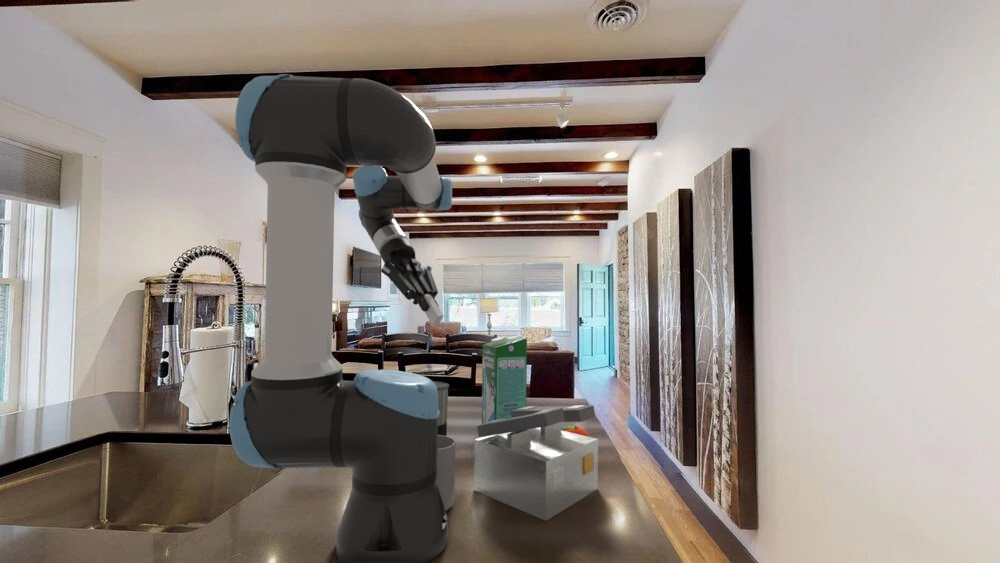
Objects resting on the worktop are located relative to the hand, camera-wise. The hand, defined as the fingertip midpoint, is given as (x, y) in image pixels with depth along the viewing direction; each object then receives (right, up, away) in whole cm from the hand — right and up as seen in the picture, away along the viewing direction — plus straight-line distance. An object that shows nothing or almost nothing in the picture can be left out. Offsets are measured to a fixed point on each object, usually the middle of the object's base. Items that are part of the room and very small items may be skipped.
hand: (437, 320), depth 90 cm
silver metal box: (+20, -30, -13) cm, 38 cm away
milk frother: (-8, -31, +8) cm, 33 cm away
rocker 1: (+17, -18, -16) cm, 29 cm away
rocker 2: (+23, -17, -9) cm, 30 cm away
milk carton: (+14, -32, +24) cm, 42 cm away
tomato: (+29, -31, +4) cm, 43 cm away
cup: (+1, -29, -18) cm, 34 cm away
